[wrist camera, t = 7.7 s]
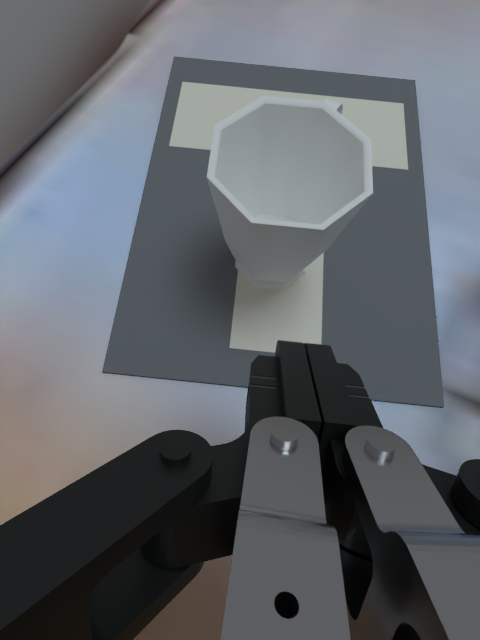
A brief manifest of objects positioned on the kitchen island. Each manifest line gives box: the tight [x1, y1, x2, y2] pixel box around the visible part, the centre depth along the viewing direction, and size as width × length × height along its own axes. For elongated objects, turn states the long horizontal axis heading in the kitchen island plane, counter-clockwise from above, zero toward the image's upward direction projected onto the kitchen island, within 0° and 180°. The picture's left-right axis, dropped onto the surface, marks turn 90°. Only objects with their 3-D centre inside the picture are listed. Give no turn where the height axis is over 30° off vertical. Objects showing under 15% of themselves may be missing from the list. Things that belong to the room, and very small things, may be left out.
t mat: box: [102, 57, 444, 407], centre depth 24 cm, size 24×18×1 cm
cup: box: [207, 96, 373, 290], centre depth 20 cm, size 7×10×8 cm
